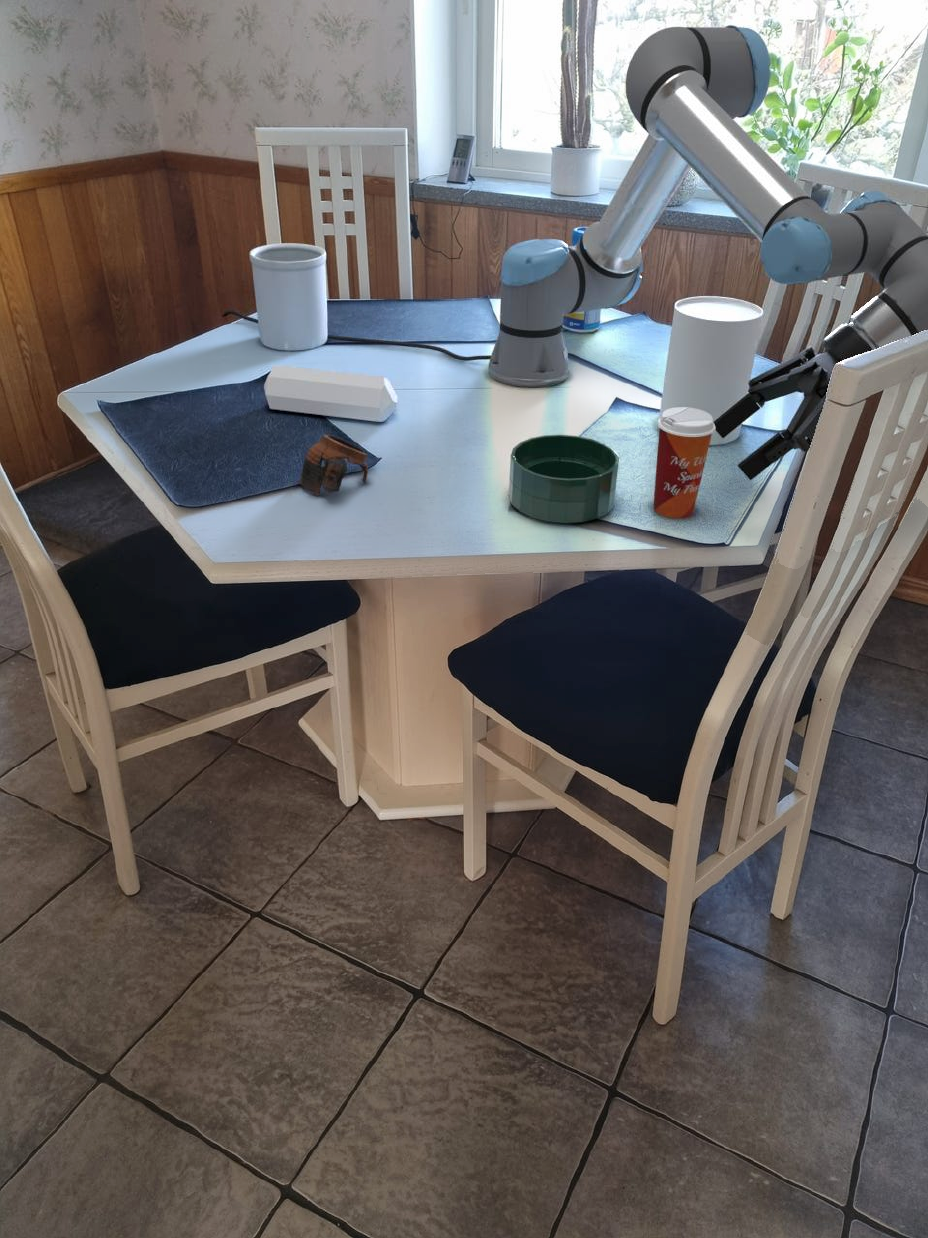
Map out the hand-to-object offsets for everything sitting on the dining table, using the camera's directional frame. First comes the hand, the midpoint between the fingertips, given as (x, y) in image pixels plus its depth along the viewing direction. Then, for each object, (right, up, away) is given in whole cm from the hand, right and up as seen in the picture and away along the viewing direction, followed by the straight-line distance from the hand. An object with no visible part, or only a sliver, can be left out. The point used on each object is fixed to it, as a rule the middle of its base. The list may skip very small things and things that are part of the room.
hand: (729, 451), depth 128 cm
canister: (+3, +9, +29) cm, 31 cm away
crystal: (-59, +13, +33) cm, 69 cm away
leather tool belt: (-56, -4, +9) cm, 56 cm away
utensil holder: (-71, +34, +64) cm, 102 cm away
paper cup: (-7, -8, +5) cm, 11 cm away
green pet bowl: (-22, -6, +6) cm, 24 cm away
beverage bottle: (-11, +40, +74) cm, 85 cm away
